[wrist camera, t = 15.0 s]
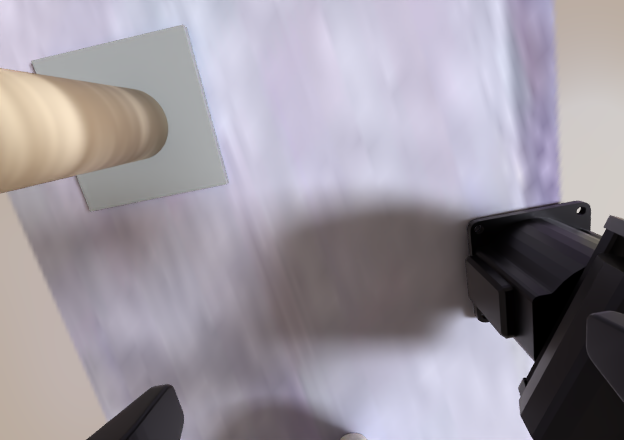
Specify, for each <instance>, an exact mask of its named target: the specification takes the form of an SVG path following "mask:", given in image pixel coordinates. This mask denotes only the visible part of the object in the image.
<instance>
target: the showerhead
mask: <svg viewBox="0 0 624 440" xmlns="http://www.w3.org/2000/svg"><path fill="white" fill-rule="evenodd" d="M340 440H367V439H366V437H364V436H363V435H361V434H357V433H350V434H347V435H345V436H343V437H342V438H341V439H340Z"/></svg>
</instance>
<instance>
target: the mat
mask: <svg viewBox="0 0 624 440" xmlns="http://www.w3.org/2000/svg"><path fill="white" fill-rule="evenodd" d="M32 64H33V67H34V69H35V72H36V74H41V75H47V76H54V77H60V78H66V79H73V80H79V81H86V82H92V83H98V84H105V85H111V86H118V87H124V88H130V89H136V90H140V91H143V92H145V93H147V94H148V95H150V96H151V97H153V98H154V99H155V100H156V101H157V102H158V103H159V105H160V106H161V107H162V109H163V111H164V113H165V115H166V118H167V122H168V136H167V140H166V143H165V145H164V146H163V148H162V149H161V150H160V151H159V152H158V153H157V154H156V155H154V156H152V157H150V158H147V159H143V160H139V161H135V162H131V163H127V164H122V165H118V166H114V167H110V168H105V169H101V170H97V171H93V172H89V173H84V174H80V175H76V176H77V179H78V181H79V184H80V187H81V189H82V192H83V194H84V197H85V199H86V202H87V204H88V207H89V210H90V212H91V211H96V210H101V209H106V208H111V207H116V206H121V205H126V204H131V203H136V202H141V201H146V200H151V199H156V198H161V197H166V196H171V195H176V194H181V193H186V192H191V191H196V190H201V189H205V188H210V187H215V186H220V185H225V184H228V183H229V182H228V178H227V174H226V171H225V167H224V163H223V159H222V156H221V152H220V148H219V145H218V141H217V137H216V134H215V130H214V126H213V123H212V119H211V115H210V112H209V108H208V104H207V101H206V97H205V93H204V90H203V86H202V82H201V79H200V75H199V71H198V68H197V64H196V60H195V57H194V53H193V49H192V45H191V42H190V38H189V34H188V31H187V27H185V26H184V25H180V26H176V27H171V28H167V29H163V30H159V31H155V32H150V33H146V34H142V35H138V36H134V37H129V38H125V39H121V40H117V41H113V42H108V43H104V44H100V45H96V46H92V47H87V48H83V49H79V50H75V51H71V52H67V53H62V54H58V55H54V56H50V57H46V58H41V59H37V60H33V61H32Z"/></svg>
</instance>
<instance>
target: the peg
mask: <svg viewBox="0 0 624 440" xmlns="http://www.w3.org/2000/svg"><path fill="white" fill-rule="evenodd" d="M167 136H168V122H167V118H166V115H165V113H164V111H163V109H162V107H161V106H160V105H159V103H158V102H157V101H156V100H155V99H154V98H153V97H151V96H150V95H148V94H147V93H145V92H143V91H140V90H136V89H130V88H124V87H118V86H111V85H105V84H98V83H92V82H86V81H79V80H73V79H66V78H60V77H54V76H47V75H41V74H34V73H28V72H22V71H15V70H9V69H2V68H0V193H4V192H8V191H13V190H17V189H21V188H25V187H30V186H34V185H38V184H42V183H46V182H51V181H55V180H59V179H63V178H68V177H72V176H76V175H80V174H84V173H89V172H93V171H97V170H101V169H105V168H110V167H114V166H118V165H122V164H127V163H131V162H135V161H139V160H143V159H147V158H150V157H152V156H154V155H156V154H157V153H158V152H159V151H160V150H161V149H162V148H163V146H164V145H165V143H166V140H167Z"/></svg>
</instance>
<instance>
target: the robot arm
mask: <svg viewBox="0 0 624 440" xmlns="http://www.w3.org/2000/svg"><path fill="white" fill-rule="evenodd" d="M579 207H581V210H580V212H579V213H577V209H578V208H579ZM590 224H591V208H590V205H589V204H587V203H585V202H582V201H572V202H567V203H561V204H556V205H550V206H545V207H540V208H534V209H529V210H523V211H518V212H512V213H507V214H502V215H496V216H491V217H485V218H480V219H475V220H472V221H471V222H470V223H469V224H468V227H467V232H468V244H469V255H470V256H468V257H467V259H466V260H465V261H466V273H467V284H468V295H469V298H470V299H471V300H472V301H473V303H474V313H475V316H476V317H477V318H478V320H479V321H481V322H490V323H491V324H492V325H493V326H494V328H495V329H496V330H497V331H498V332H499V334H500V335H502V336H503V337H505V338H514V339H515V340H516V341H517V342H518V344H519V345H520V346H521V347H522V348H523V349H524V350H525V351H526V353H527V354H528V355H529V356H530V357H531V358H532V359H533V360H534V362H535V363H534V365H533V367H532V368H531V370H530V372H529V374H528V376H527V378H523V380H522V381H521V383H520V385H519V387H518V389H519V392H520V396H521V397H520V399H519V406H520V415H521V417H522V419H523V421H524V423H525V425H526V427H527V429H528V431H529V433H530V435H531V437H532V438H533V440H624V219H622V218H619V217H615V216H611V215H610V216H609V218H608V220H607V222H606V224H605V225H604V228H606V230H605V232H604V234H603V236H600V235H598V234H596V233H594V232H591V231H590V226H591V225H590ZM479 225H480V226H481V228H480V230H479V231H477V232H475V228H476V227H477V226H479ZM482 313H483V315H482ZM183 424H184V414H183V410H182V408H181V405H180V403H179V400H178V397H177V395H176V392H175V390H174V388H173V386H172V385H170V384H165V385H159V386H154V387H151V388H150V389H149V390H147V391H146V392H145V393H144V394H142V395H141V396H140V397H139V398H137V399H136V400H135V401H134V402H132V403H131V404H130V405H129V406H127V407H126V408H125V409H124V410H123V411H121V412H120V413H119V414H118V415H116V416H115V417H114V418H113V419H111V420H110V421H109V422H108V423H106V424H105V425H104V426H103V427H102V428H100V429H99V430H98V431H96V432H95V433H94V434H93V435H92V436H91V437H89V438H88V439H87V440H180V438H181V433H182V429H183Z"/></svg>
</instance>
